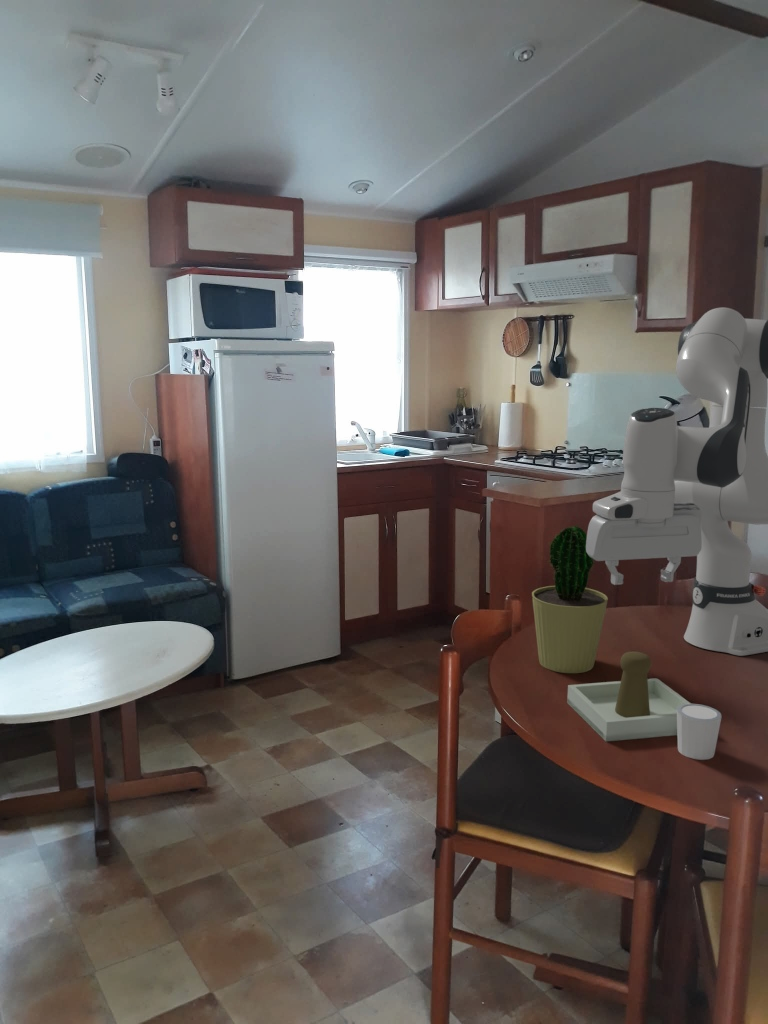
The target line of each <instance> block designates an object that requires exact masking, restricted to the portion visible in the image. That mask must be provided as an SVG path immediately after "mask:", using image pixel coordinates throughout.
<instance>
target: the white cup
mask: <svg viewBox="0 0 768 1024" xmlns="http://www.w3.org/2000/svg"><path fill="white" fill-rule="evenodd" d="M721 721H722V713H721V712H720V711H719V710H718V709H716V708H713V707H711V706H709V705H704V704H700V703H699V704H698V703H691V704H684V705H680V706H679V707H678V708H677V735H676V736H677V751H678V752H679V753H680V754H681V755H682V756H685V757H686V758H688V759H689V758H690V759H693V760H700V761H705V760H710V759H713V758H714V756H715V753H716V749H717V748H716V747H717V743H718V737H719V731H720V728H721Z"/></svg>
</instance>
